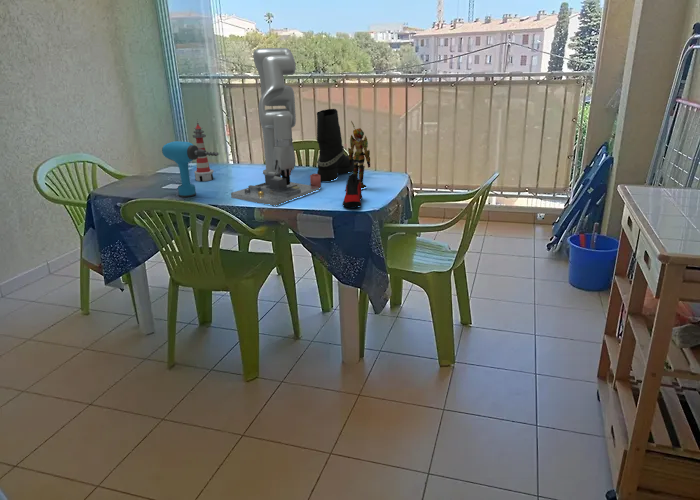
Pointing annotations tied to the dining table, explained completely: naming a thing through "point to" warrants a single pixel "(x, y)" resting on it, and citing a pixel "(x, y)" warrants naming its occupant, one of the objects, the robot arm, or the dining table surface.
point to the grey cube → (278, 183)
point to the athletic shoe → (352, 192)
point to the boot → (331, 147)
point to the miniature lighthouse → (202, 158)
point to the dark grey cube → (270, 177)
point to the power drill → (184, 162)
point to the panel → (273, 193)
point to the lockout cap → (315, 180)
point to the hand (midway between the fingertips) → (286, 184)
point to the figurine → (359, 153)
